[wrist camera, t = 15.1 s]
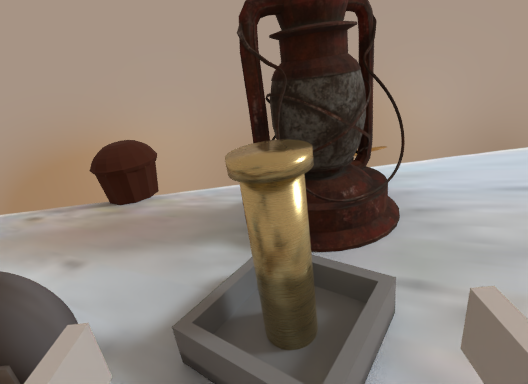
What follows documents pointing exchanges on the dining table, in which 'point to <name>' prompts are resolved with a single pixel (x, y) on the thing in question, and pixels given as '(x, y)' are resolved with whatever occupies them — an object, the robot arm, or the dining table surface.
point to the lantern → (323, 113)
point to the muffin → (126, 171)
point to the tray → (290, 361)
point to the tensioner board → (27, 325)
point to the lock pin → (279, 235)
